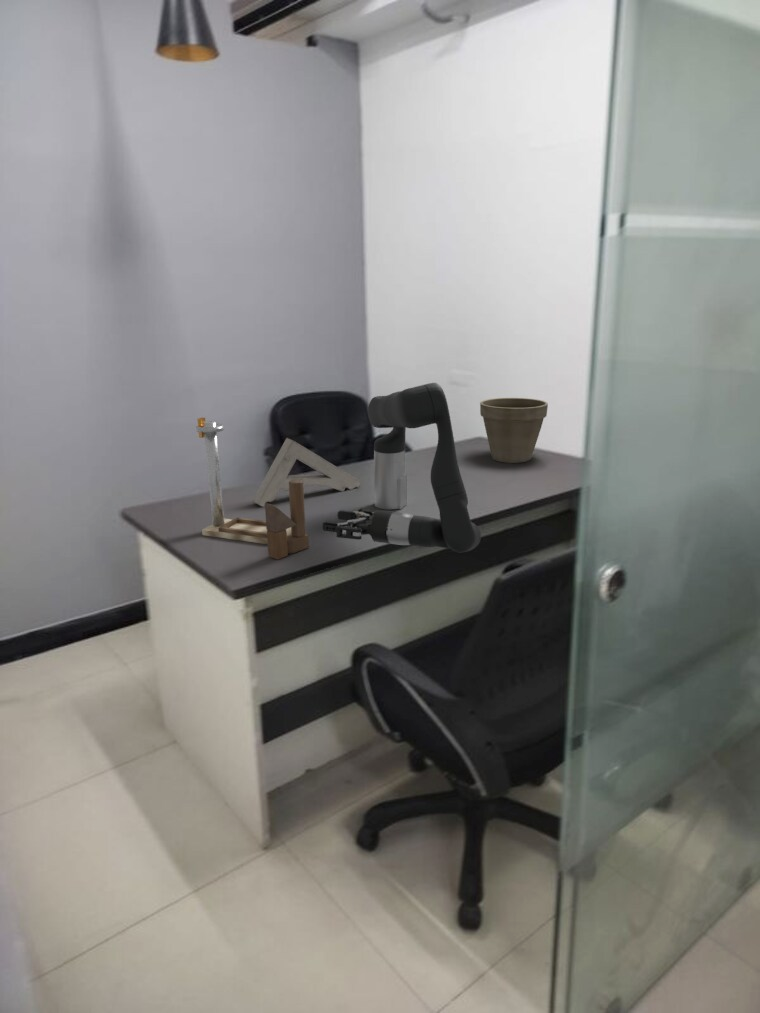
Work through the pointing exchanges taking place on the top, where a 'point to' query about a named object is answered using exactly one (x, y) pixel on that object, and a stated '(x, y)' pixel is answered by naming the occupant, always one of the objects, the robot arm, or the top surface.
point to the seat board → (241, 530)
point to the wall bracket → (283, 465)
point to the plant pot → (513, 427)
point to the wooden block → (287, 524)
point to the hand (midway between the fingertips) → (331, 520)
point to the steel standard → (213, 467)
